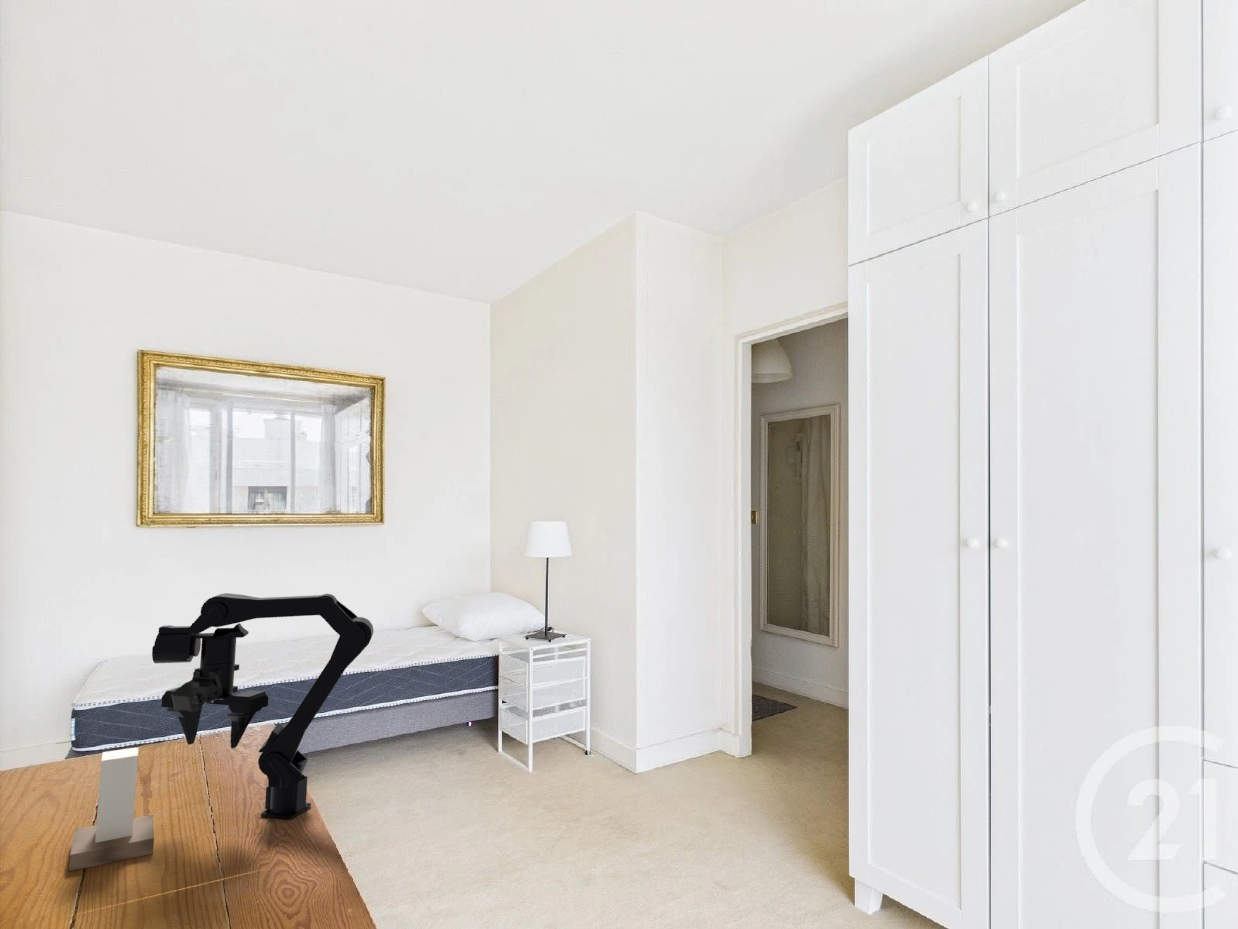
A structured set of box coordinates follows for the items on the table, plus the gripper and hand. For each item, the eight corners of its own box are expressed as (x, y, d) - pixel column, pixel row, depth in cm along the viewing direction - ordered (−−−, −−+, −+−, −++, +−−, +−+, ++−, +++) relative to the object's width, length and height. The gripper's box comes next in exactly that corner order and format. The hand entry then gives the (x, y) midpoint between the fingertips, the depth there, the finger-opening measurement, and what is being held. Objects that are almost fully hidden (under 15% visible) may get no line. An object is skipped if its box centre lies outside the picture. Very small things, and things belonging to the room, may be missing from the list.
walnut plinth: (151, 829, 124) (152, 814, 124) (152, 853, 115) (154, 838, 115) (74, 844, 118) (75, 829, 118) (68, 871, 109) (70, 855, 109)
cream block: (132, 824, 120) (138, 747, 121) (132, 835, 116) (138, 755, 117) (96, 831, 117) (102, 752, 118) (95, 843, 113) (101, 761, 114)
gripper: (139, 667, 125) (132, 756, 124) (230, 673, 122) (224, 764, 121) (187, 655, 136) (182, 737, 135) (272, 661, 133) (267, 744, 132)
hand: (212, 746), depth 130 cm, fingers open, 9 cm apart
